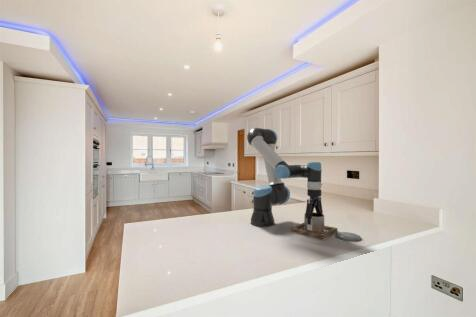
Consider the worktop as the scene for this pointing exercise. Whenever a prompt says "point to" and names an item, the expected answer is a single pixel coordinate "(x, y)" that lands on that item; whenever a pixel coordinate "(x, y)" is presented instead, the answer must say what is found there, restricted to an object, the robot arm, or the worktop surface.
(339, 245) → the worktop surface
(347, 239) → the slate trivet
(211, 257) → the worktop surface
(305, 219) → the planter
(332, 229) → the holder frame
